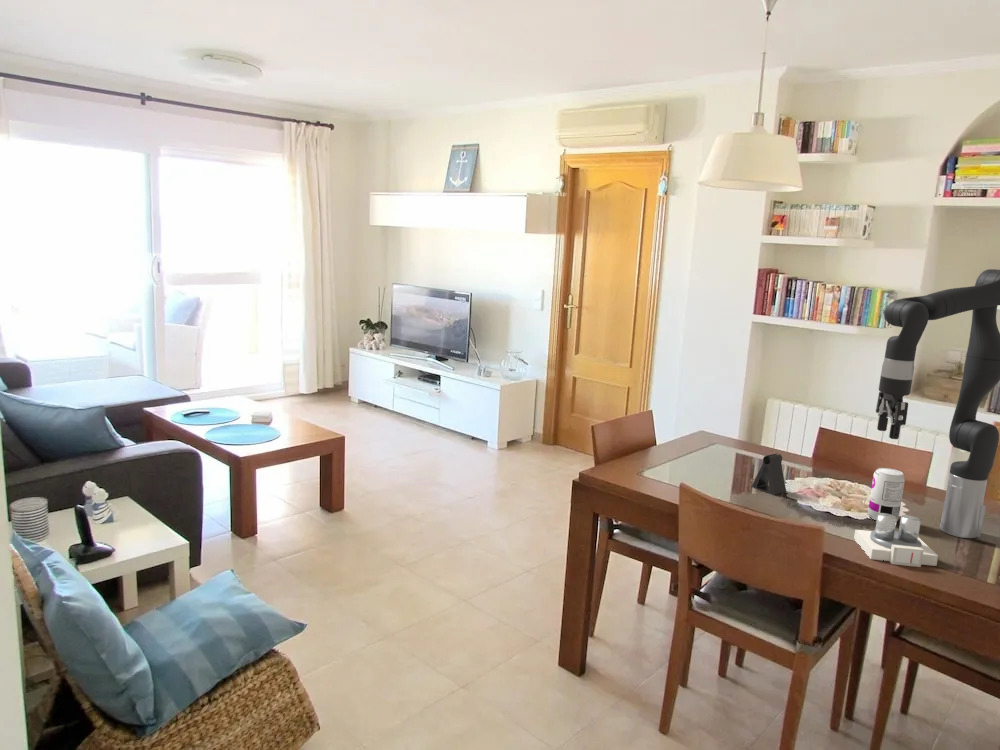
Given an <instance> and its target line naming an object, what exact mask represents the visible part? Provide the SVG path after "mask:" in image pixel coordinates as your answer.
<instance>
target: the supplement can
mask: <svg viewBox="0 0 1000 750" xmlns="http://www.w3.org/2000/svg"><path fill="white" fill-rule="evenodd" d="M905 481H906V480H905V475H904V473H903V472H902V471H900V470H899V469H898V470H897V469H894V468H889V467H878V468H876V470H875V471H874V473H873V476H872V483H871V490H870V494H869V495H870V497H869V501H868V507H867V509H868V510H867V516H868V515H869V516H870V517H871V518H872V519H874V520H877V515H878V514H879V513H886V514H891V515H893V516H895V517H897V522H898V521H899V517H900V512H901V505H902V499H903V492H904V486H905ZM869 516H868V517H869ZM870 517H869V518H870ZM871 518H870V519H871ZM872 519H871V520H872ZM874 520H873V521H874Z"/></svg>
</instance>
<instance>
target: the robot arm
mask: <svg viewBox="0 0 1000 750" xmlns="http://www.w3.org/2000/svg"><path fill="white" fill-rule="evenodd" d="M998 306H1000V269H992V268H990V269H986V270H983V271H982V272H981V273H980V274H979V276H978V277H977V278H976V280H975V284H974V285H973V286H963V287H954V288H948V289H947V288H946V289H944V290H939V291H936V292H932V293H929V294H927V295H926V294H925V295H919V296H910V297H903V298H897V299H896V300H893V301H892V302H890V303H889V304H887V306H886V308H885V309H884V318H885V321H886V322H887V324H889V325H890V326H894V327H896V328H897V327H898V328H901V330H900V332H899V334H898V335H893V336H891V337H889V338H888V339H887V341H886V345H885V346H886V347H885V353H884V357H883V359H884V360H883V363H882V365H881V371H880V378H879V384H878V390H879V392H878V397H877V403H876V409H875V413H877V416H878V421H877V426H876V427H877V430H878V431H879V432H886V431H887V429H888V425H889V418H890V429H889V432H888V433H889V434H888V438H890V439H891V440H898V439H899V438H900V432H901V426H905V425H906V424H907V417H908V416H907V415H908V409H909V402H907V401H904V400H903V399H904V397H906V396H909V395H911V393H912V390H911V389H912V385H913V378H914V372H915V360H916V359H915V358H916V353H917V352H916V351H917V346H918V344H919V343H920V340H921V338H922V336H923V334H924V332H925V330H926V328H927V325H928V323H929V321H935V320H939V319H940V320H941V319H943V318H947V317H950V316H951V317H952V316H954V315H958V314H961V313H965V312H969V311H972V315H971V325H970V331H969V332H970V333H969V339H968V340H969V341H968V346H967V350H966V356H965V360H964V365H963V375H962V381H961V385H960V390H959V394H958V399H957V403H956V406H955V410H954V413H953V416H952V419H951V422H950V423H951V424H950V428H949V434H948V437H949V438H948V439H949V443H950V444H951V446H952V447H954V448H955V449H959V450H962V451H965V452H968V453H969V456H968V459H967V460H963V461H962V460H958V461H953V462H952V463H951V464H950V468H949V472H948V473H949V474H948V479H947V485H946V490H945V496H944V497H945V498H944V502H943V508H942V512H941V513H942V514H941V519H940V522H939V523H940V525H939V530H941V531H942V532H943V533H945V534H948V535H951V536H954V537H958V538H962V539H974V538H981V535H982V529H983V526H984V525H983V524H984V520H985V514H986V508H987V506H986V505H985V504H984V500H985V495H986V491H987V485H988V484H987V483H988V479H989V475H990V472H991V471H992V469H993V466H994V462H995V458H996V453H997V451H998V447H999V442H1000V432H999V429H998V428H997V426H996V425H994V424H991V423H988V422H986V421H985V422H984V421H981V420H977V413H978V409H979V406H980V404H981V402H982V400H983V399H984V397H986V396H987V394H989V393H990V392H991V391H992V390H993V389H994V387H996V386H997V384H998V383H999V382H1000V331H999V327H998V324H997V312H998Z"/></svg>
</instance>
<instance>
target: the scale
mask: <svg viewBox="0 0 1000 750" xmlns="http://www.w3.org/2000/svg"><path fill="white" fill-rule="evenodd" d="M898 532H899V531H897V530H895V534H894V540H893V541H884V540H880V539H877V538H876V537H875V536H874V534H875V529H874V530H873V531H872V530H863V529H855V530H854V537H853V539H855V540H854V541H855V542H856V543H857V544H859V545H860V546H861V547H860V546H859V547H860V548H861V550H864V551H865V552H864V551H863V552H864V553H865V554H866V555H867V557H868V556H869V557H868V558H869V559H870V560H874V561H875V560H876V561H883V560H884V561H885V562H889V563H890V564H891V565H897V566H906V567H907V566H908V567H917V568H921V567H922V565H923V566H934V567H937V563H938V558H939V555H938V554H937V553H936V552H935V551H934V550H933V549H932V548H931V547H929V545H927V544H926V543H925V542H924V541H923V540H922V539H921V538H920V537H919V536H918V541H917V543H907V542H903V541H901V540H899V539H898ZM884 561H883V562H884Z"/></svg>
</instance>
